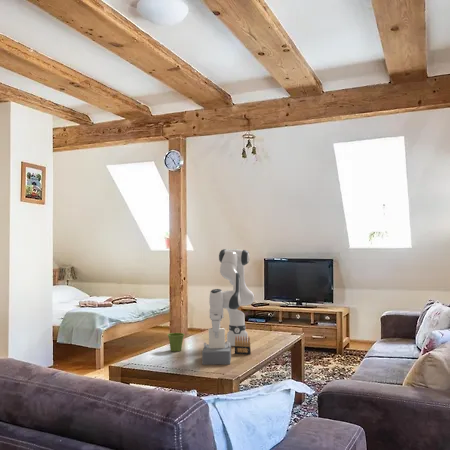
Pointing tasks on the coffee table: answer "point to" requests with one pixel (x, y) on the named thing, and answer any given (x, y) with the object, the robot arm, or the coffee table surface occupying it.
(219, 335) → the door panel
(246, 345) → the ammunition clip
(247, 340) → the robot arm
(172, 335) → the plant pot
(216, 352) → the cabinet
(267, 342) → the coffee table surface
